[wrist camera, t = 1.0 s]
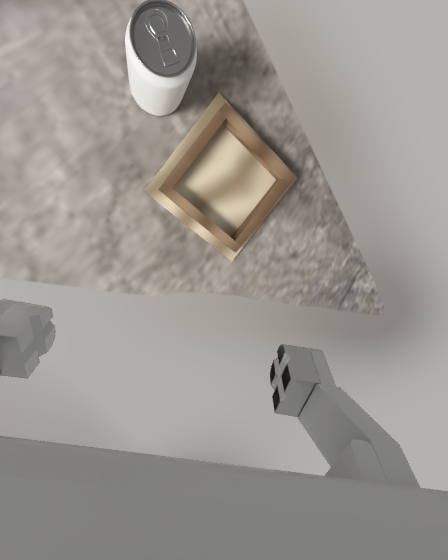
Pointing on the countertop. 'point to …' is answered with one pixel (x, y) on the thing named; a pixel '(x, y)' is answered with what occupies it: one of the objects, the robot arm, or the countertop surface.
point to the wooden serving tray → (222, 179)
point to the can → (160, 56)
